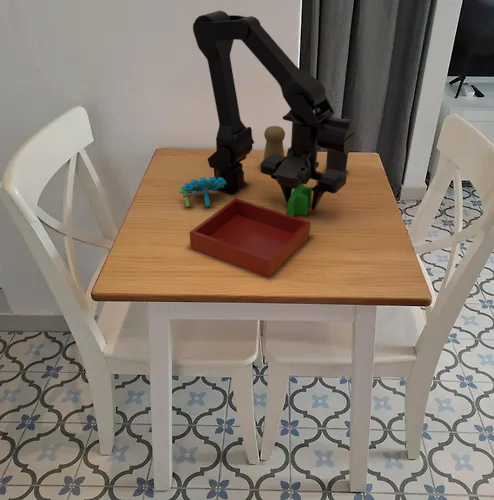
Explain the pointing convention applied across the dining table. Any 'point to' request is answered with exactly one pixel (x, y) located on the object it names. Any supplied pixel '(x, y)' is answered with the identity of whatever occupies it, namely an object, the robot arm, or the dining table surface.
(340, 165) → the two-way radio
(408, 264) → the dining table surface
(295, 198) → the pipe clamp
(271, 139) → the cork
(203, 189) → the blue toy dinosaur
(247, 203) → the open red box
